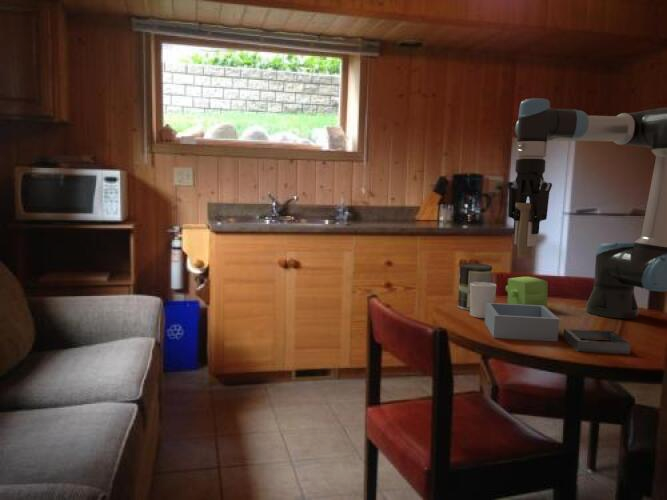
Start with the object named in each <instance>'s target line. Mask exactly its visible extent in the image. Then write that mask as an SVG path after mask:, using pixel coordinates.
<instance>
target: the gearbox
mask: <svg viewBox="0 0 667 500" xmlns="http://www.w3.org/2000/svg"><path fill="white" fill-rule="evenodd" d="M548 284H549V282H548V281H547V280H545V279H541V278H538V277H534V276H519V277H511V278H507V285H505V292H507V304H522V305H542V306H545V307H546V308H547V309H548V287H549V286H548Z"/></svg>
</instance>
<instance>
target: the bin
mask: <svg viewBox="0 0 667 500" xmlns="http://www.w3.org/2000/svg"><path fill="white" fill-rule="evenodd" d="M484 324H485V326H486V328H487V329H488V331H489V333H490V334H491V336H492V338H494V339H506V340H508V339H509V340H521V341H522V340H526V341H541V342H542V341H544V342H558V341H559V330H560V329H559V327H560V318H559V317H558V316H556V314H554V313H553V312H552V311H551V310H550V309H549V308H548V307H547V308H546V307H545V306H542V305H522V304H508V303H503V302H502V303H500V302H499V303H498V302H496V303H495V302H494V303H486V309H485V318H484Z"/></svg>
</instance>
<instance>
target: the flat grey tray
mask: <svg viewBox="0 0 667 500" xmlns="http://www.w3.org/2000/svg"><path fill="white" fill-rule="evenodd" d="M562 335H563V336H562V337H563V339H564V340H565V341H566V342H567V343H568V344H569V345H570V346H572V348H574V349H575V350H576V351H577V352H583V353H584V352H585V353H589V352H590V353H602V354H603V353H604V354H605V353H606V354H607V353H608V354H620V355H622V354H623V355H630V354H631V345H632V344H631V343H630V342H628V341H627V340H626V339H625V338H623V337H621V336H620V335H619V334H617V333H616V332H614V331H612V330H599V329H583V328H582V329H581V328H563V333H562ZM581 339H585V340H581ZM591 339H609V340H610V342H609V341H596V340H591Z"/></svg>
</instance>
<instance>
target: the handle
mask: <svg viewBox="0 0 667 500" xmlns="http://www.w3.org/2000/svg"><path fill="white" fill-rule="evenodd" d="M516 208H517V209H519V210H520V211H521V215H520V224H519V232H518V244H517V257H518V258H519V259H525V260H526V259H530V258H531V255H532V254H531V253H532V249H533V246H527V237H528V222H530V221H529V220H531V213H530V209H531V204H530V202H526V203H516Z"/></svg>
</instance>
